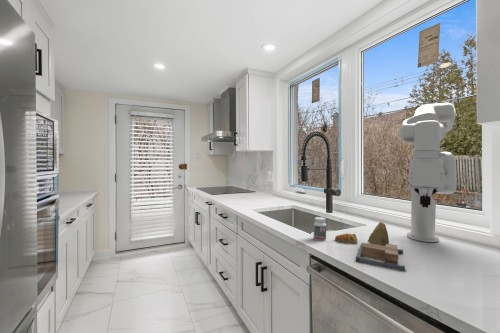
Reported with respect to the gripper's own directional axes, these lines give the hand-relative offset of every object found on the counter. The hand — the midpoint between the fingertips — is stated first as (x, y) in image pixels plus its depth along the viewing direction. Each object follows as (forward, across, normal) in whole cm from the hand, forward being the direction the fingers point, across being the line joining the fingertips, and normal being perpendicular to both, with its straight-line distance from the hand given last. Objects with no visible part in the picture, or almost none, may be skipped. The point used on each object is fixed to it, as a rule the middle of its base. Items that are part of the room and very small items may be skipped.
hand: (424, 206), depth 87 cm
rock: (+21, +16, -11) cm, 28 cm away
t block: (+20, +14, +3) cm, 25 cm away
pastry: (+21, +28, -10) cm, 36 cm away
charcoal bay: (+20, +13, +3) cm, 24 cm away
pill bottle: (+21, +39, -6) cm, 45 cm away
